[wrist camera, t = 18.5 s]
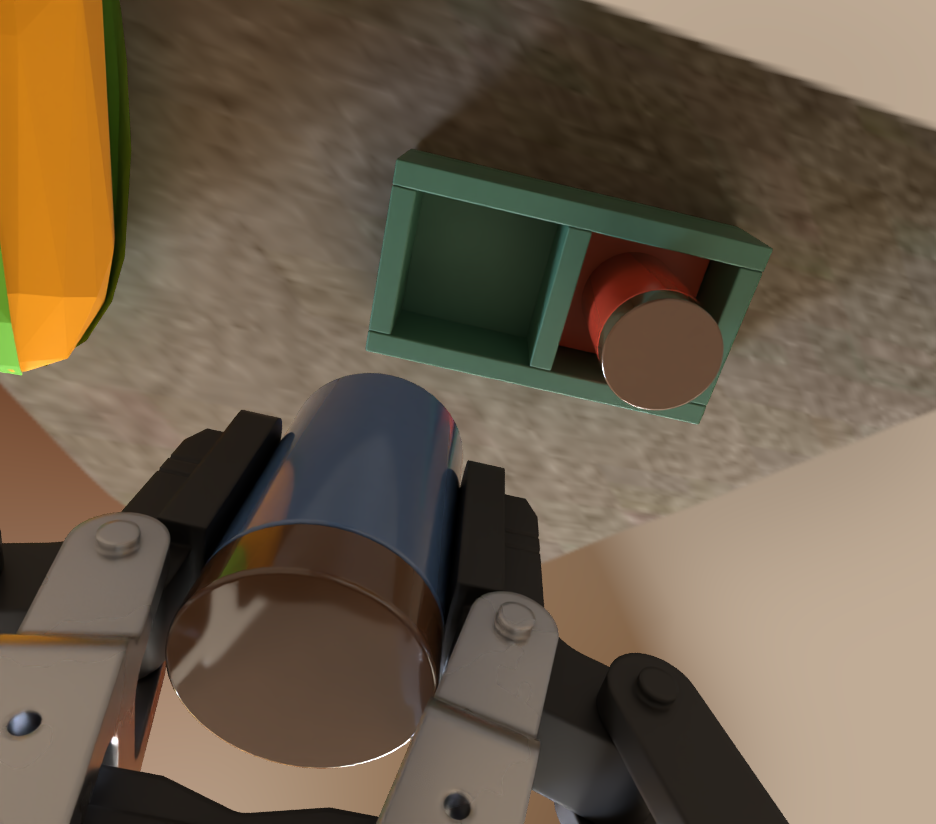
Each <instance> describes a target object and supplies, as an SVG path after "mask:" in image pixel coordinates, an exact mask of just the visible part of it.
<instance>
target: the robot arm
mask: <svg viewBox="0 0 936 824" xmlns="http://www.w3.org/2000/svg"><path fill="white" fill-rule="evenodd" d="M281 433H282V420H281V418H277V417H273V416H268V415H264V414H259V413H255V412H250V411H246V410H241V411H240V412H239V413H238V414H237V416H236V417H235V418H234V419H233V421H232V422H231V423H230V424H229V426H228V427H227V428H226V430H225V431H224V432H221V431H216V430H212V429H205V430H203V431H201V432H199V433H197V434H195V435H193V436H191V437H189V438H187V439H185V440H184V441H183V442H182V443H181V444H180V445H179V446H178V448H177V449H176V450H175V451H174V452H173V453H172V454H171V457H170V458H168V459H167V460H166V461H165V462H164V464H163V465H162V466H161V467H160V470H159V471H157V472H156V473H155V474H154V475H153V476H152V477H151V478H150V480H149V481H148V482H147V483H146V484H145V485H144V486H143V488H142V489H141V490H140V491H139V492H138V493H137V494H136V496H135V497H134V498H133V499H132V500H131V501H130V502H129V504H128V505H127V506H126V507H125V508H124V509H123V510H122V512H117V513H109V514H103V515H100V516H97V517H94V518H91V519H88V520H86V521H84V522H82V523H81V524H79V525H78V526H76V527H75V528H74V529H73V530H72V531H71V532H70V533H69V534H68V535H67V537H66V538H65V540H64V541H63V542H52V543H2V538H1V531H0V824H524V821H525V817H526V812H527V807H528V803H529V798H530V793H531V790H533V791H535V792H537V793H539V794H541V795H543V796H545V797H546V798H548V799H550V800H552V801H554V805H555V810H556V813H557V816H558V818H559V821H560V823H561V824H789V823H788V822H787V820H786V819H785V817H784V816H783V814H782V813H781V811H780V810H779V809H778V807H777V806H776V804H775V803H774V801H773V800H772V799H771V797H770V795H769V794H768V793H767V791H766V790H765V788H764V787H763V785H762V784H761V783H760V781H759V780H758V778H757V777H756V775H755V774H754V772H753V771H752V770H751V768H750V766H749V765H748V764H747V762H746V761H745V759H744V758H743V756H742V755H741V754H740V752H739V751H738V749H737V748H736V746H735V745H734V743H733V742H732V740H731V739H730V738H729V736H728V735H727V733H726V732H725V730H724V729H723V727H722V726H721V725H720V723H719V722H718V720H717V719H716V717H715V716H714V714H713V713H712V712H711V710H710V709H709V707H708V706H707V704H706V703H705V701H704V700H703V699H702V697H701V696H700V694H699V693H698V691H697V690H696V688H695V687H694V686H693V684H692V683H691V682H690V681H689V679H688V678H687V677H686V676H685V675H684V674H683V673H681V672H680V671H679V670H678V669H677V668H675V667H674V666H672V665H670V664H669V663H667V662H665V661H664V660H662V659H659V658H657V657H654V656H651V655H647V654H641V653H629V654H624V655H622V656H619V657H618V658H616V659H615V660H614V661H613V662H612V664H611V665H610V667H608V666H606V665H604V664H602V663H600V662H598V661H596V660H593V659H592V658H589V657H587V656H585V655H583V654H581V653H580V652H578V651H576V650H574V649H573V648H571V647H570V646H568V645H567V644H566V643H565V642H564V641H562V640H561V639H560V638H559V637H558V628H557V625H556V623H555V621H554V619H553V618H552V617H551V615H550V614H549V612H548V611H547V610H545V608H544V600H543V587H542V573H541V559H540V554H539V551H540V545H539V539H538V536H539V532H538V518H537V516H536V514H535V513H534V511H533V509H532V508H531V506H530V505H529V503H528V502H527V500H526V499H524V498H519V497H515V496H510V495H506V494H505V469H504V468H501V467H496V466H492V465H487V464H483V463H478V462H474V461H469V460H468V461H467V464H466V467H465V471H464V474H463V478H462V482H461V486H460V491H459V500H458V509H457V519H456V528H455V537H454V547H453V556H452V565H451V574H450V584H449V593H448V602H447V612H446V621H445V632H444V640H443V651H442V660H441V670H440V679H439V685H438V688H437V690H436V693H435V695H434V697H432V696H431V697H430V699H429V701H428V703H427V705H426V707H425V709H424V711H423V714H422V716H421V719H420V721H419V723H418V726H417V728H416V730H415V733H414V735H413V737H412V740H411V742H410V745H409V747H408V749H407V752H406V754H405V757H404V759H403V761H402V763H401V766H400V768H399V770H398V773H397V775H396V778H395V780H394V782H393V785H392V787H391V790H390V792H389V794H388V797H387V799H386V801H385V804H384V806H383V808H382V811H381V813H380V815H379V817H377V816H371V815H366V814H361V813H356V812H351V811H345V810H340V809H335V808H315V809H301V810H287V811H272V812H258V813H240V812H236V811H233V810H231V809H229V808H227V807H225V806H223V805H221V804H219V803H217V802H215V801H213V800H210V799H209V798H206V797H204V796H202V795H201V794H199V793H197V792H194V791H193V790H190V789H188V788H186V787H184V786H182V785H180V784H178V783H176V782H174V781H172V780H170V779H168V778H166V777H164V776H161V775H155V774H150V773H145V772H140V770H141V766H142V762H143V758H144V754H145V750H146V746H147V742H148V739H149V735H150V731H151V727H152V723H153V719H154V715H155V711H156V707H157V703H158V699H159V695H160V691H161V687H162V684H163V679H164V676H165V670H166V661H165V644H166V636H167V632H168V629H169V626H170V623H171V621H172V619H173V617H174V616H175V614H176V612H177V610H178V609H179V607H180V605H181V604H182V602H183V600H184V599H185V597H186V596H187V594H188V592H189V591H190V589H191V587H192V586H193V584H194V582H195V581H196V579H197V577H198V576H199V574H200V573H201V571H202V569H203V568H204V566H205V565H206V563H207V561H208V559H209V558H210V556H211V555H212V553H213V551H214V550H215V548H216V546H217V545H218V543H219V541H220V540H221V538H222V536H223V535H224V533H225V532H226V530H227V528H228V527H229V525H230V523H231V522H232V520H233V518H234V517H235V515H236V514H237V512H238V510H239V509H240V507H241V505H242V504H243V502H244V500H245V499H246V497H247V495H248V494H249V492H250V491H251V489H252V487H253V486H254V484H255V482H256V481H257V479H258V477H259V476H260V474H261V473H262V471H263V469H264V468H265V466H266V464H267V463H268V461H269V459H270V458H271V456H272V454H273V453H274V451H275V450H276V448H277V446H278V445H279V443H280V441H281Z"/></svg>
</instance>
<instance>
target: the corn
mask: <svg viewBox="0 0 936 824" xmlns="http://www.w3.org/2000/svg"><path fill="white" fill-rule="evenodd" d="M130 161H131V136H130V116H129V97H128V77H127V59H126V50H125V41H124V33H123V24H122V15H121V7H120V1H119V0H0V372H4V373H11V374H17V375H22V373H21V371H28V370H31V369H35V368H38V367H41V366H47V365H48V364H51V363H54V362H57V361H60V360H64V359H67V358H68V357H69V356H70V354H71V353H72V351H73V349H74V348H75V347H77V346H79V345H80V344H82V343H83V342H85V341H86V340H87V339H88V337H89V336H90V334H91V333H92V331H93V330H94V328H95V327H96V325H97V324H98V322H99V321H100V319H101V317H102V316H103V314H104V313H105V311H106V310H107V308H108V307H109V305H110V304H111V302H112V299H113V296H114V292H115V289H116V285H117V282H118V278H119V275H120V271H121V268H122V264H123V261H124V257H125V243H126V227H127V210H128V194H129V178H130Z"/></svg>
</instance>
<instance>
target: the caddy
mask: <svg viewBox="0 0 936 824" xmlns="http://www.w3.org/2000/svg"><path fill="white" fill-rule="evenodd" d="M393 184H394V185H393V186H392V190H391V196H390V202H389V208H388V214H387V220H386V227H385V233H384V239H383V245H382V251H381V257H380V263H379V269H378V275H377V281H376V288H375V294H374V300H373V306H372V312H371V318H370V324H369V331H368V336H367V343H366V351H370V352H374V353H379V354H383V355H388V356H392V357H397V358H401V359H406V360H410V361H415V362H419V363H424V364H428V365H433V366H437V367H442V368H446V369H451V370H455V371H460V372H464V373H469V374H473V375H478V376H482V377H487V378H491V379H496V380H500V381H505V382H509V383H513V384H518V385H522V386H527V387H531V388H536V389H540V390H545V391H549V392H554V393H558V394H563V395H567V396H572V397H576V398H581V399H585V400H590V401H594V402H599V403H603V404H608V405H612V406H617V407H621V408H626V409H630V410H635V411H639V412H644V413H648V414H653V415H657V416H662V417H666V418H671V419H675V420H680V421H684V422H689V423H693V424H699V423H700V420H701V418H702V416H703V413H704V411H705V409H706V405H707V404H708V401H709V399H710V397H711V394H712V392H713V389H714V387H715V385H716V382H717V380H718V378H719V375H720V373H721V370H722V368H723V366H724V363H725V361H726V359H727V356H728V354H729V351H730V349H731V347H732V344H733V342H734V340H735V337H736V335H737V332H738V330H739V328H740V325H741V323H742V321H743V318H744V316H745V314H746V311H747V309H748V306H749V304H750V302H751V299H752V297H753V295H754V292H755V290H756V287H757V285H758V283H759V280H760V278H761V276H762V272H763V271H764V269H765V267H766V264H767V262H768V260H769V257H770V255H771V253H772V250H773V249H772V248H771V247H769V246H768V245H766V244H765V243H763V242H761V241H760V240H758V239H757V238H755V237H753V236H752V235H750V234H749V233H747V232H745V231H744V230H742V229H740V228H739V227H736V226H732V225H728V224H723V223H719V222H715V221H711V220H707V219H703V218H698V217H694V216H690V215H686V214H682V213H678V212H673V211H669V210H665V209H661V208H657V207H653V206H648V205H644V204H640V203H636V202H632V201H627V200H623V199H619V198H615V197H611V196H607V195H602V194H598V193H594V192H590V191H586V190H582V189H577V188H573V187H569V186H565V185H561V184H557V183H552V182H548V181H544V180H540V179H536V178H532V177H527V176H523V175H519V174H515V173H511V172H507V171H502V170H498V169H494V168H490V167H486V166H482V165H477V164H473V163H469V162H465V161H461V160H457V159H452V158H448V157H444V156H440V155H436V154H432V153H427V152H423V151H419V150H415V149H410V150H409V151H407V152H406V153H405V154H403V155H402V156H400V157H399V158H398V159H397V160H396V165H395V171H394V177H393ZM627 252H641V253H646V254H649V255H652V256H654V257H656V258H658V259H660V260H661V261H662V262H664V263H665V264H666V265H667V266H668V267H669V269H670V270H671V271H672V272H673V273H674V274H675V275H676V276H677V278H678V279H679V280H680V281H681V282H682V283H683V284H684V286H685V287H686V288H687V289H688V290H689V291H690V292H691V293H692V295H693V296H694V297H695V298H696V299H697V300H698V301H699V302H700V304H701V305H702V306H703V307H704V308H705V309H706V310H707V312H708V313H709V314H710V315H711V316H712V317H713V319H714V320H715V321H716V323H717V325H718V326H719V329H720V331H721V334H722V338H723V345H724V352H723V359H722V363H721V366H720V369H719V371H718V373H717V375H716V377H715V379H714V380H713V382H712V383H711V384H710V386H709V387H708V388H707V389H706V390H705V391H704V392H703V393H702V394H701V395H699V396H698V397H697V398H695V399H694V400H692V401H690V402H689V403H687V404H684V405H682V406H679V407H676V408H673V409H668V410H658V411H657V410H646V409H641V408H637V407H634V406H632V405H630V404H628V403H626V402H624V401H623V400H621V399H620V398H619V397H618V396H616V394H615V393H614V392H613V391H612V390H611V389H610V387H609V386H608V384H607V382H606V380H605V377H604V375H603V372H602V369H601V366H600V363H599V360H598V357H597V354H596V351H595V348H594V345H593V342H592V339H591V336H590V333H589V331H588V328H587V325H586V322H585V319H584V316H583V313H582V306H581V299H582V292H583V289H584V286H585V283H586V281H587V279H588V278H589V276H590V275H591V273H592V272H593V271H594V270H595V269H596V268H597V267H598V266H599V265H600V264H601V263H602V262H604V261H605V260H607V259H609V258H611V257H613V256H615V255H618V254H622V253H627Z"/></svg>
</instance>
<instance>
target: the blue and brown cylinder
mask: <svg viewBox="0 0 936 824" xmlns="http://www.w3.org/2000/svg"><path fill="white" fill-rule="evenodd" d="M462 464H463V447H462V441H461V437H460V433H459V431H458V428H457V426H456V424H455V422H454V420H453V418H452V417H451V415H450V413H449V412H448V411H447V410H446V408H445V407H444V406H443V405H442V404H441V403H440V402H439V401H438V400H437V399H436V398H435V397H434V396H433V395H431V394H430V393H429V392H427V391H426V390H425V389H423V388H421V387H420V386H418V385H416V384H414V383H412V382H410V381H407V380H405V379H402V378H399V377H395V376H392V375H386V374H379V373H362V374H354V375H349V376H344V377H342V378H339V379H336V380H333V381H331V382H329V383H327V384H325V385H324V386H322V387H321V388H319V389H318V390H317V391H315V392H314V393H313V394H312V395H311V396H310V397H309V398H308V399H307V400H306V402H305V403H304V404H303V405H302V407H301V409H300V410H299V412H298V413H297V415H296V417H295V418H294V420H293V422H292V423H291V425H290V427H289V428H288V430H287V432H286V433H285V435H284V436H283V438H282V440H281V441H280V443H279V445H278V446H277V448H276V450H275V451H274V453H273V454H272V456H271V458H270V459H269V461H268V463H267V464H266V466H265V468H264V469H263V471H262V473H261V474H260V476H259V477H258V479H257V481H256V482H255V484H254V486H253V487H252V489H251V491H250V492H249V494H248V495H247V497H246V499H245V500H244V502H243V504H242V505H241V507H240V509H239V510H238V512H237V514H236V515H235V517H234V518H233V520H232V522H231V523H230V525H229V527H228V528H227V530H226V532H225V533H224V535H223V536H222V538H221V540H220V541H219V543H218V545H217V546H216V548H215V550H214V551H213V553H212V555H211V556H210V558H209V559H208V561H207V563H206V565H205V566H204V568H203V569H202V571H201V573H200V574H199V576H198V577H197V579H196V581H195V582H194V584H193V586H192V587H191V589H190V591H189V592H188V594H187V596H186V597H185V599H184V600H183V602H182V604H181V605H180V607H179V609H178V610H177V612H176V614H175V616H174V617H173V619H172V621H171V623H170V626H169V629H168V632H167V636H166V644H165V661H166V668H167V672H168V676H169V679H170V681H171V684H172V686H173V689H174V691H175V692H176V694H177V696H178V698H179V699H180V701H181V702H182V704H183V705H184V706H185V707H186V709H187V710H188V711H189V713H190V714H191V715H192V716H193V717H194V718H195V719H196V720H197V721H198V722H199V723H200V724H201V725H203V726H204V727H205V728H206V729H207V730H209V731H210V732H211V733H213V734H214V735H215V736H217V737H218V738H220V739H221V740H223V741H225V742H226V743H228V744H230V745H232V746H234V747H235V748H237V749H239V750H241V751H244V752H246V753H249V754H251V755H253V756H256V757H259V758H262V759H265V760H268V761H271V762H275V763H280V764H284V765H289V766H296V767H302V768H317V769H325V768H341V767H350V766H355V765H359V764H364V763H368V762H371V761H374V760H377V759H380V758H382V757H384V756H386V755H388V754H390V753H393V752H394V751H396V750H397V749H399V748H400V747H402V746H404V745H405V744H406V743H407V742H408V741H410V740H411V739H412V737H413V735H414V733H415V730H416V728H417V726H418V723H419V721H420V719H421V716H422V714H423V711H424V709H425V707H426V705H427V703H428V701H429V699H430V697H431V696H432V697H434V695H435V693H436V690H437V688H438V685H439V679H440V670H441V660H442V651H443V640H444V632H445V621H446V612H447V602H448V593H449V584H450V574H451V565H452V556H453V547H454V537H455V528H456V519H457V509H458V500H459V491H460V483H461V473H462Z"/></svg>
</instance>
